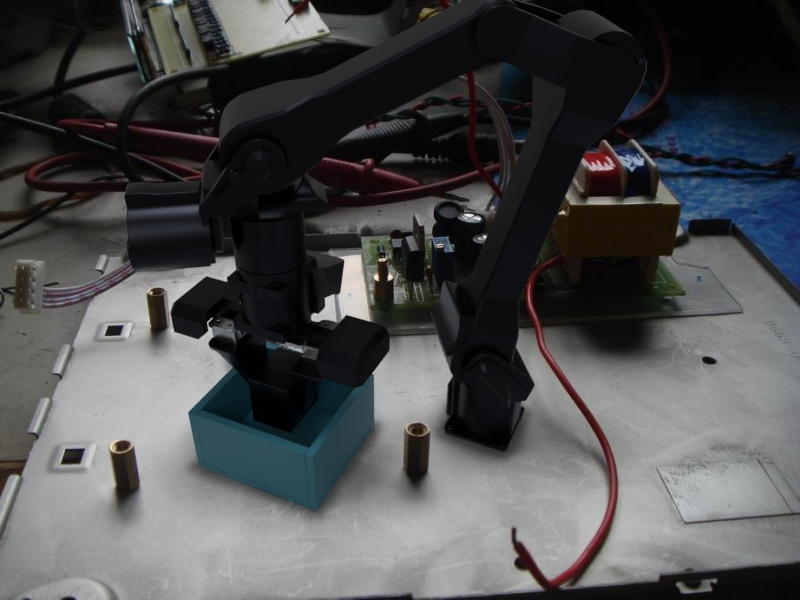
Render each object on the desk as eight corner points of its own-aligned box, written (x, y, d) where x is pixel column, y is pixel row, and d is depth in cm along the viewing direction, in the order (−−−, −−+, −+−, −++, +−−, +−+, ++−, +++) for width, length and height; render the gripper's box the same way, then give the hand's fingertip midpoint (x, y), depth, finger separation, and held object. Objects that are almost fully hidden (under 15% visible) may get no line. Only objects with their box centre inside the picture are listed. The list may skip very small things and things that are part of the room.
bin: (374, 426, 74) (374, 374, 70) (316, 511, 66) (312, 456, 62) (266, 390, 78) (260, 339, 75) (198, 466, 70) (187, 412, 66)
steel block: (318, 399, 71) (315, 358, 68) (291, 433, 67) (286, 391, 64) (282, 387, 72) (277, 346, 69) (253, 420, 68) (247, 378, 65)
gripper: (417, 235, 63) (413, 377, 72) (231, 193, 69) (249, 328, 78) (357, 304, 55) (361, 455, 63) (152, 248, 61) (182, 393, 70)
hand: (285, 401), depth 69 cm, fingers closed on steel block, 4 cm apart
